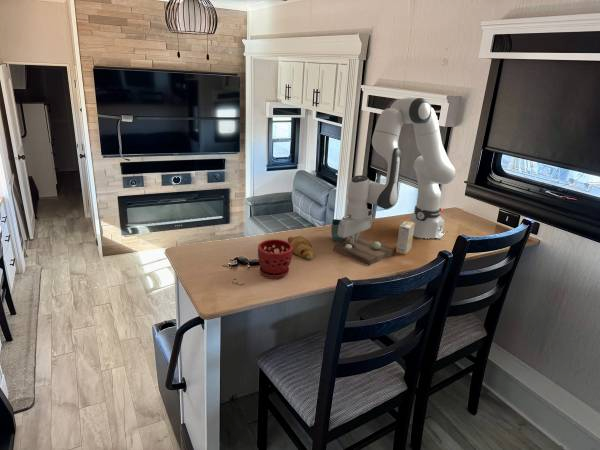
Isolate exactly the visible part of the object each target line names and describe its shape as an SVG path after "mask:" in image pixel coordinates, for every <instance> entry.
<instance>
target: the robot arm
mask: <svg viewBox="0 0 600 450" xmlns="http://www.w3.org/2000/svg"><path fill="white" fill-rule="evenodd" d="M404 124H405V125H408V124H412V125H413V133H414V137H415V138H414V139H415V141H416V148H417V150H418V153H420V155H419V156H418V157H417V158H416V159H415V160H414V162H413V170H414V172H415V174H416V179H417V180H416V181H417V197H416V205H415V206H414V211H413V214H412V215H411V217H410V221H409V222H413V223H415V226H414V233H413V237H415V238H418V239H419V238H420V239H423V238H425V239H426V240H430V239H429V238H437V239H436V240H439V239H440V238H441V237H442V236H443V235H444V234H445V233H444V234H443V233H441V232H442V231H443V229H444V228H445V219H443V217H441V212H443V207H440V205H441V200H442V191H441V189H440V186H439V185H447V184H450V183H451V182H452V181H454V180H455V179H454V178H455V177H456V168H455V167H454V165H453V164H452V163H451V161H450V159H449V156H448V155H447V152H446V150H445V147H444V145H443V141H442V135H441V132H440V125H439V120H438V117H437V114H436V112H435V109H434V107H432V105H431V103H430V102H429V101H428V100H427V99H425V98H422V97H406V98H405V97H404V98H396V99H393V100H392V101H390V102H389V103H388V105H387V106H386V108H385V109H383V110H382V111H381V113H380V115H379V116H378V118H377V121H376V124H375V128H374V131H373V134H372V137H371V145H372V147H373V150H375V152H376V153H377V154H378V155H379V156H381V157H382V158H383V159H384V160H385V161H386V163H387V172H386V178H385V184H383V183H380V182H376V181H373V180H371V179H369V177H368V176H366V175H361V174H360V175H354V176H353V177H352V178H351V179H350V181H349V185H348V190H347V203H346V209H345V210H346V211H345V216H342V218H341V219H340V220H341V221H340V223H339V227H338V233H337V234H338V236H339V237H341V238H346V237H348V238H349V239H350V243H354V242H357V238H358V236H359V237H360V233H362V232H365V231H367V230H369V229H370V228H371V226H372V221H373V216H372V215H373V214H374V211H373V210H372V209H369V208H368V204H371V205H373V206H377V207H379V208H382V209H384V210H389V209H390V208H393V207H394V206H395V205H396V204H397V202H398V200H399V198H398V197H399V181H400V172H401V165H402V151H401V149H400V147H399V138H400V135H401V130H402V128H403V126H404ZM445 235H446V234H445ZM445 235H444V236H445ZM444 236H443V237H444ZM443 237H442V238H443ZM427 238H428V239H427ZM425 239H424V240H425ZM440 240H441V239H440Z"/></svg>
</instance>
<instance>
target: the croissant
mask: <svg viewBox="0 0 600 450" xmlns="http://www.w3.org/2000/svg"><path fill="white" fill-rule="evenodd" d="M287 242H288V243H290V244H291V245H292V255H293V254H294V255H296V256H299V257H301V258H305V259H306V260H312V259H314V248H313V246H312V245H311V243H310V240H309V239H308V238H306V237H304V236H302V235H299V236H295V237H293V236H290V237H288V238H287Z"/></svg>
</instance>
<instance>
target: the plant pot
mask: <svg viewBox="0 0 600 450" xmlns="http://www.w3.org/2000/svg"><path fill="white" fill-rule="evenodd" d="M273 246H274V247H273ZM275 250H278V251H279V252H275ZM292 258H293V253H292V245H291V244H290V243H288V241H286V240H281V239H277V238H276V239H275V238H274V239H267V240H263V241H261V242H260V243H258V245H257V259H258V263H259V265H260V266H259V270H258V271H259V272H260V274H261V275H262V276H264V277H265V278H269V279H282V278H284V277H286V276H288V274H289V273H290V267H289V266H290V265H291V262H292Z"/></svg>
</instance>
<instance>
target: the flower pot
mask: <svg viewBox="0 0 600 450" xmlns="http://www.w3.org/2000/svg"><path fill="white" fill-rule="evenodd" d="M341 220H342V219H340V218H339V219H338V218H336V219H335V218H331V224H330V225H331V231H330V232H331V237H332V240H333V242H338V243H341V242H343V241H346V240H348V238H349V237H346V238H341V237H339V236H338V234H337V233H338V227H339V223H340V221H341Z"/></svg>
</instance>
